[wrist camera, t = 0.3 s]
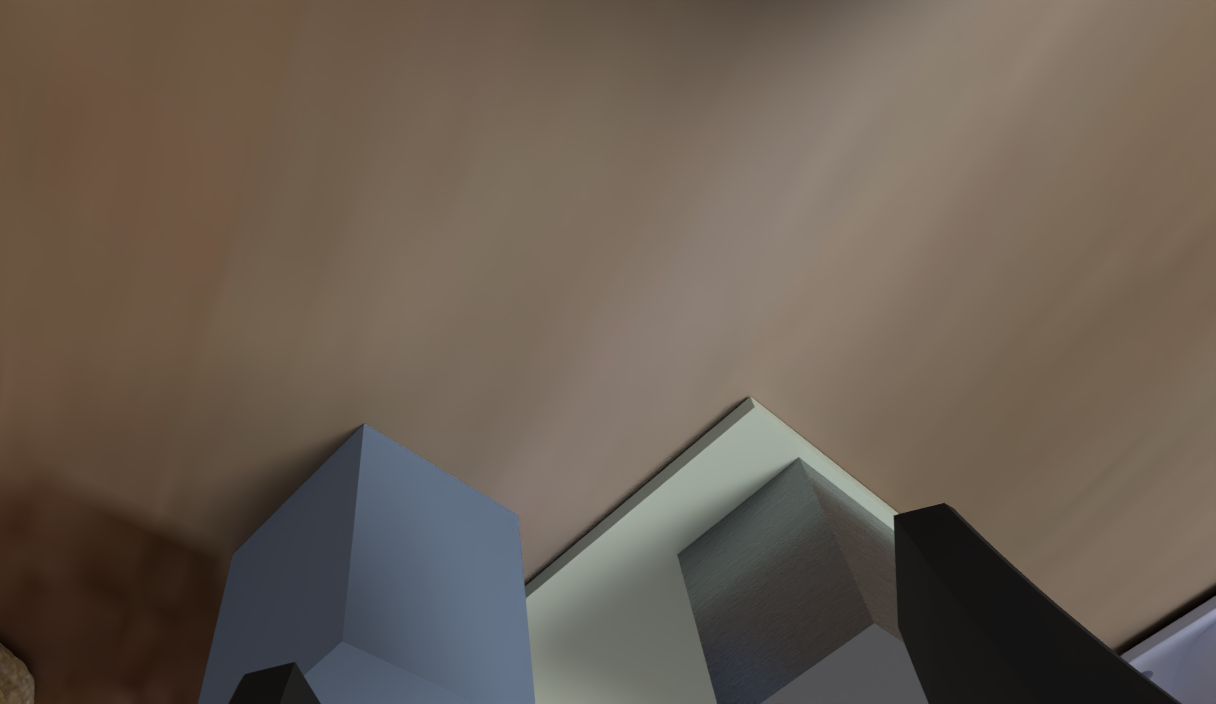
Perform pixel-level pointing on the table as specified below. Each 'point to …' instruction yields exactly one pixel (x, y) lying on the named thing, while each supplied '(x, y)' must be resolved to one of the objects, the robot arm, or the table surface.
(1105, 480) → the table surface
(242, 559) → the slate blue carton
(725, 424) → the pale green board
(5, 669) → the sprinkles bottle
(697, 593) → the grey toy block
